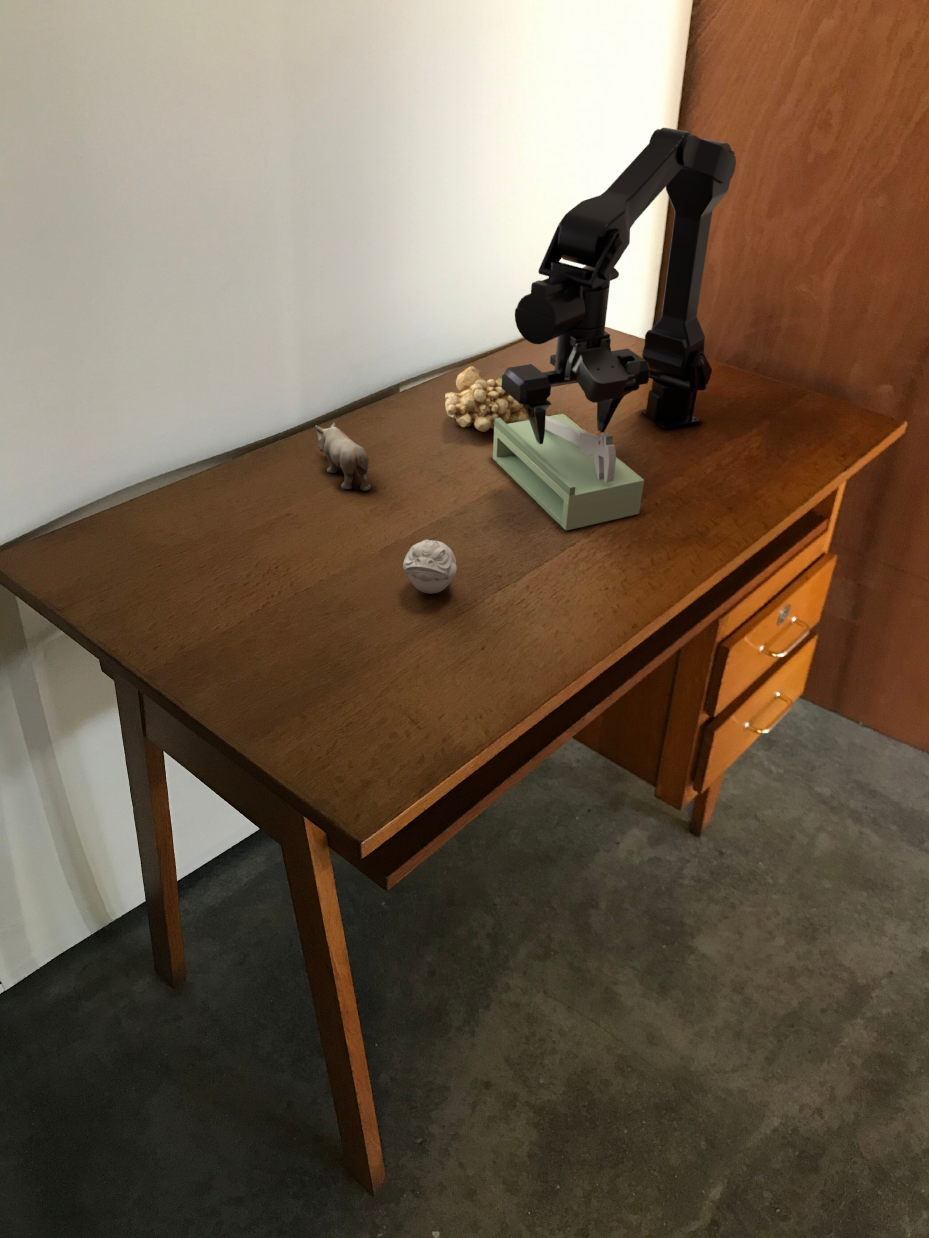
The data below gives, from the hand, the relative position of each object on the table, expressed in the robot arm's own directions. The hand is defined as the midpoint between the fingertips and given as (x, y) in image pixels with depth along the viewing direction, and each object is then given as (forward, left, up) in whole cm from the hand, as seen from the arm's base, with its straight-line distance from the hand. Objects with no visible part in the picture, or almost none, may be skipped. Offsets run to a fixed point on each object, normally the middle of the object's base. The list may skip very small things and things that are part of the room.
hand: (570, 437), depth 132 cm
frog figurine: (+27, +16, -7) cm, 32 cm away
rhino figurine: (+27, -15, -7) cm, 32 cm away
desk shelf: (0, 0, -7) cm, 7 cm away
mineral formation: (+3, -21, -7) cm, 22 cm away
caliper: (0, 0, -2) cm, 2 cm away
